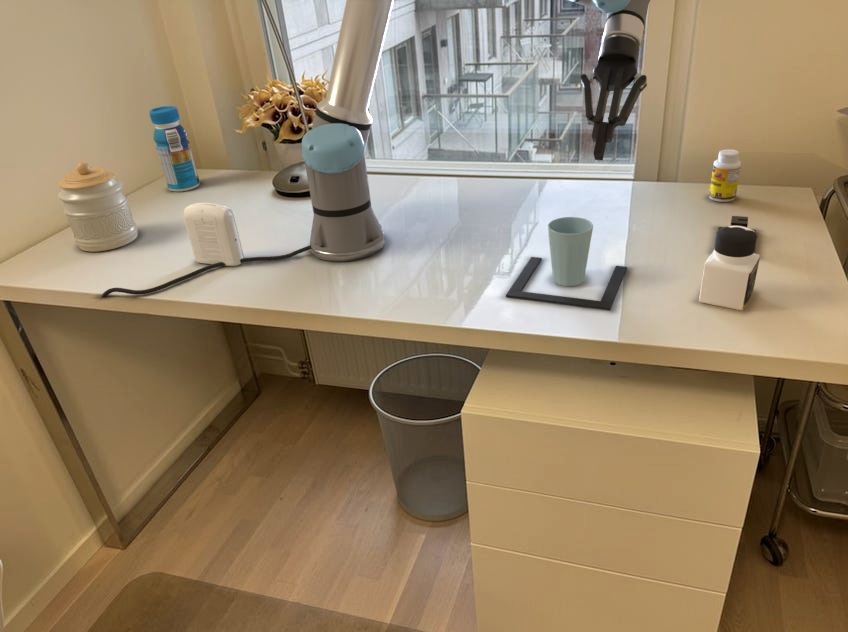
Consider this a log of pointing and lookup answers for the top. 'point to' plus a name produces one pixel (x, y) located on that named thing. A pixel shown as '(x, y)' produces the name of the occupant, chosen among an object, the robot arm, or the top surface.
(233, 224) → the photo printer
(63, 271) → the top surface
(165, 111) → the beverage bottle
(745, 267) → the medicine bottle
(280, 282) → the top surface
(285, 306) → the top surface
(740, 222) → the build plate
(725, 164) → the supplement bottle
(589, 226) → the cup
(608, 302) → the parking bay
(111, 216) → the jar
